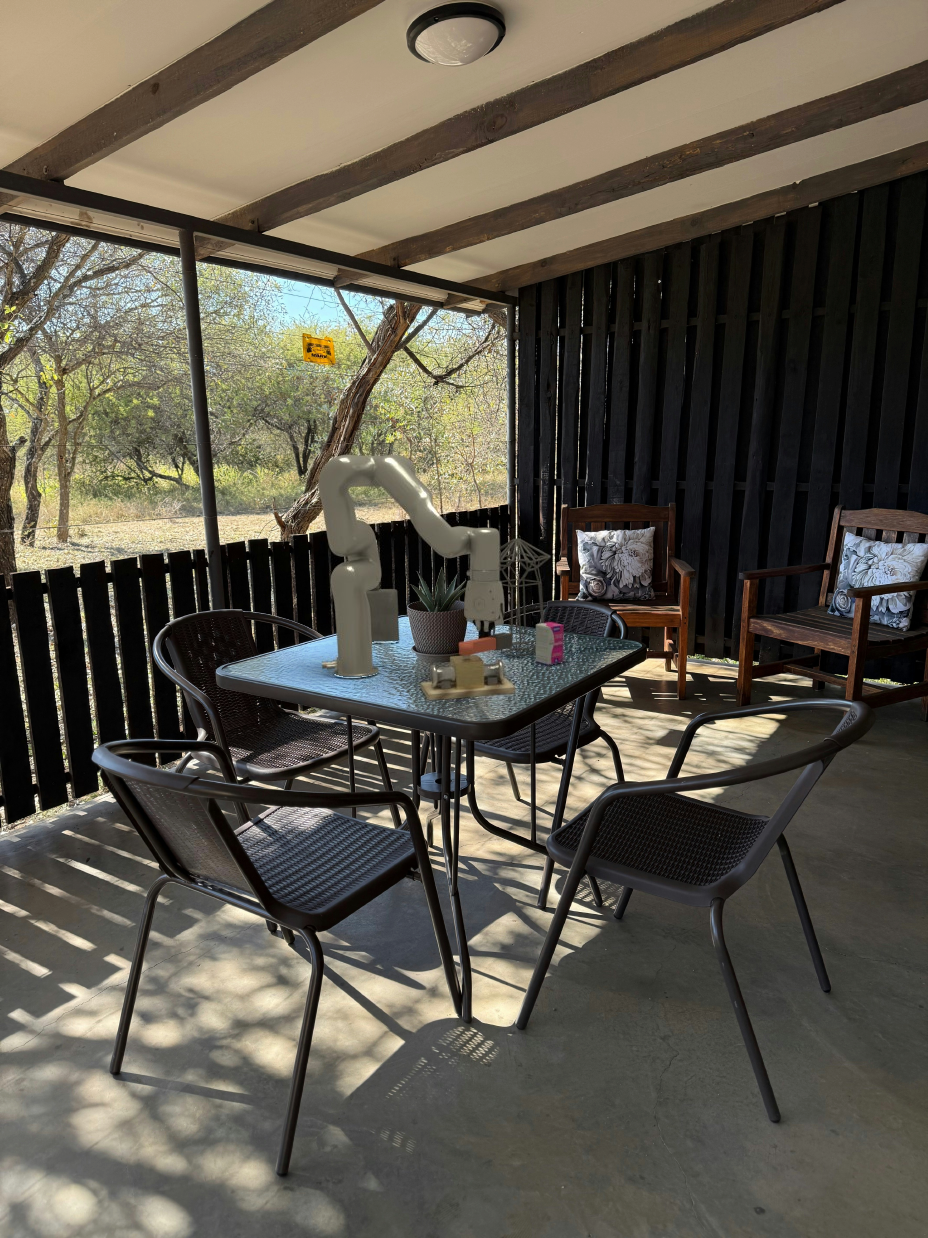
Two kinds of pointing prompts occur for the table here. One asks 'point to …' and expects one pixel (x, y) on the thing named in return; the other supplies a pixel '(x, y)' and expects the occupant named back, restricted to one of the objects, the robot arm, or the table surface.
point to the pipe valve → (467, 673)
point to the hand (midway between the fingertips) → (484, 645)
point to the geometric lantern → (525, 545)
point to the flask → (383, 614)
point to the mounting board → (466, 690)
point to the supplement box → (549, 643)
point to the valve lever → (485, 644)
